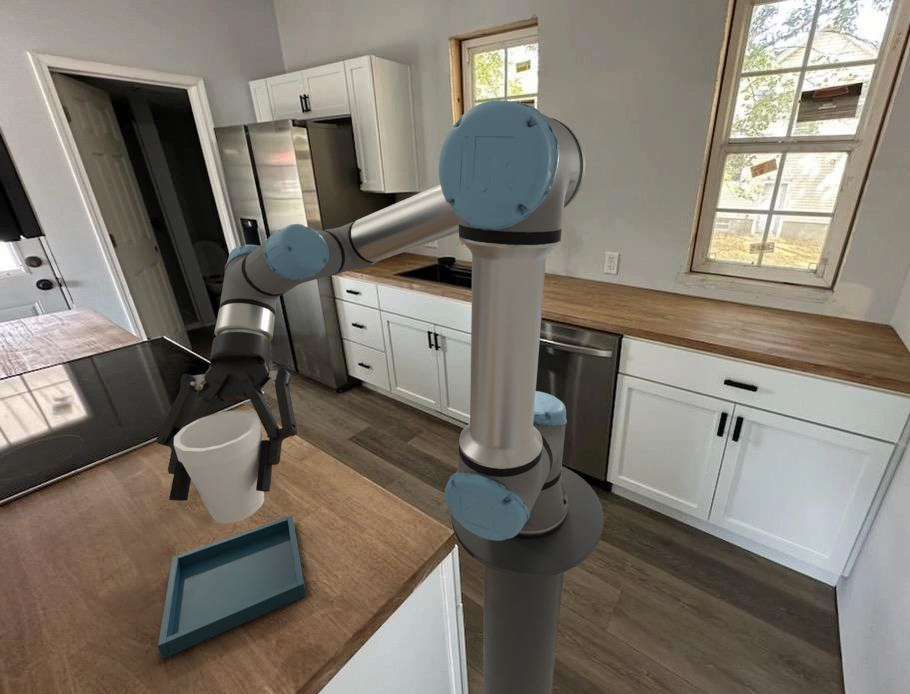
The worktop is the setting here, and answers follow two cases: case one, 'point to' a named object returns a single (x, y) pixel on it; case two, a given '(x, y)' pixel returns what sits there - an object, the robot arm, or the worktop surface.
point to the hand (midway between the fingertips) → (221, 495)
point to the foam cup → (223, 462)
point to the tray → (230, 584)
